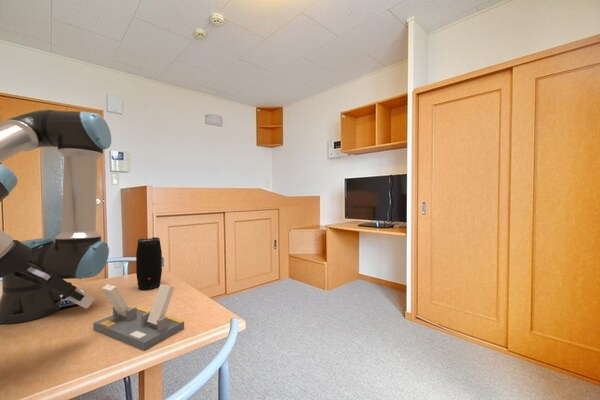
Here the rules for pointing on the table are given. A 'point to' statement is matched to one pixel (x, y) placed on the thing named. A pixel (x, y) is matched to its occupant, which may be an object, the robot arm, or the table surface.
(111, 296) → the paddle
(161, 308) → the paddle
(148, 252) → the portable speaker
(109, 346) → the table surface
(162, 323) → the switch unit
